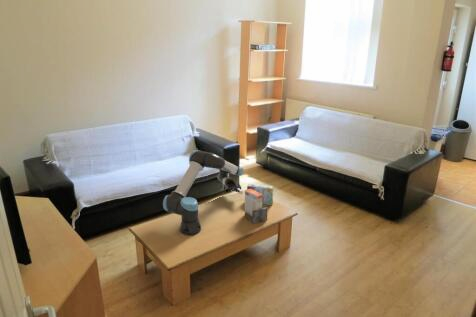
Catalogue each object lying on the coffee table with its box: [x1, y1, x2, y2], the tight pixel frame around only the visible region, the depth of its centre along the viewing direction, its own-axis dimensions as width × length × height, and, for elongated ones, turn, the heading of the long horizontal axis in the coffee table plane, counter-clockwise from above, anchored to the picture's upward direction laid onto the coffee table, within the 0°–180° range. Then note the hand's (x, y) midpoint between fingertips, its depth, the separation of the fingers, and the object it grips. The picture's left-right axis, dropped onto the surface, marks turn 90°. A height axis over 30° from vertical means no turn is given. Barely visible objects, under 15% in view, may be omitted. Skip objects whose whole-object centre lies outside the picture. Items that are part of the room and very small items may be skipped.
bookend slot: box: [244, 206, 269, 224], centre depth 262 cm, size 12×13×10 cm
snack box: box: [246, 183, 274, 206], centre depth 286 cm, size 21×6×15 cm, turn 75°
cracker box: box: [244, 189, 263, 217], centre depth 262 cm, size 14×6×21 cm, turn 38°
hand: (241, 192), depth 279 cm, fingers closed
